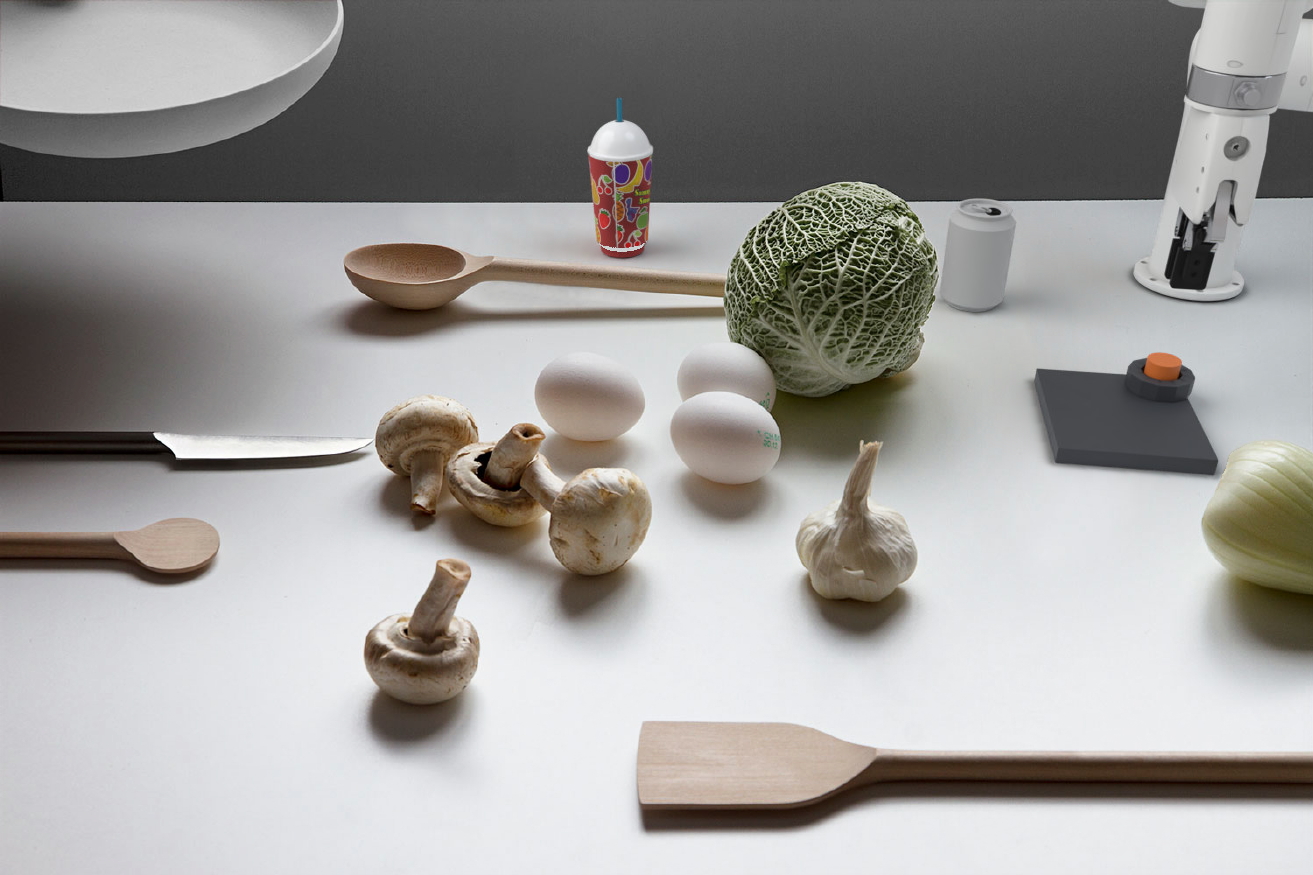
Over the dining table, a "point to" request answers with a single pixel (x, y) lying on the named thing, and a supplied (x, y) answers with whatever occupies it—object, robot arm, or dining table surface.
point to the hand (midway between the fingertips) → (1184, 282)
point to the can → (977, 254)
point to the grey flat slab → (1124, 420)
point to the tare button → (1163, 366)
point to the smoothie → (621, 185)
